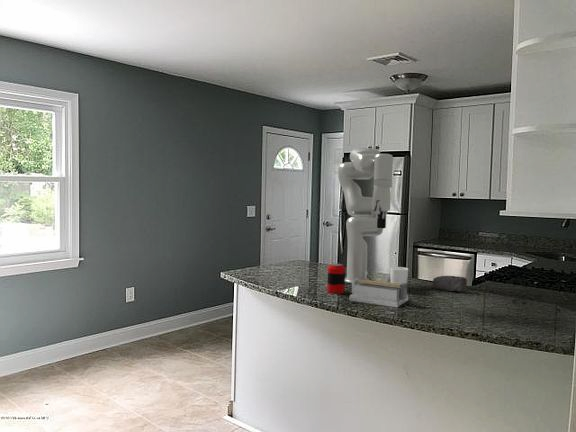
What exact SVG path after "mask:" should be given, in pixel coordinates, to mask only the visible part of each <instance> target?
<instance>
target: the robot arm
mask: <svg viewBox="0 0 576 432" xmlns="http://www.w3.org/2000/svg"><path fill="white" fill-rule="evenodd" d="M349 160H350V161H345V162H343V163H341V164H340V165H338V170H337V177H338V182H339V184H340V187H341V189H342V191H343V195H344V201H345V209H346V212H347V214H348V215H349V216H350V217H349V218H347V219H346V223H345V225H346V226H345V227H346V236H347V237H346V238H347V249H346V250H347V257H346V259H347V260H346V276H345V283H348V284H352V280H353V279H355V278H358V279H362V280H370V278H368V277H367V276H368V274H369V271H368V270H367V269H368V243H367V241H366V240H365V239H364V237H378V236H381V234H382V233H383V232H384V229H386V228H387V225H386V224H387V214H388V211H390V209H391V200H392V199H391V196H392V195H391V188H393V170H394V166H393V165H394V157H393V155H392V154H390V153H381V152H380V150H379V149H378V148H372V147H368V148H367V147H356V148H354V149H352V150H351V152H350V154H349ZM372 178H373V192H372V197H371V196H363V195H362V189H361V187H360V186H359V185H358V183H357V182H355V181H354V180H371V179H372ZM358 284H359V282H358Z"/></svg>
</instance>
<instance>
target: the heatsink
mask: <svg viewBox="0 0 576 432" xmlns="http://www.w3.org/2000/svg"><path fill="white" fill-rule="evenodd" d="M356 280H358V278H355V279H353V280H352V283H351V294H350V295H349V301H352V302H358V303H363V304H364V303H365V304H371V305H377V306H384V307H392V308H399V307H401V306H402V305H403V304H405V303H406V302H408V301H409V295H408V282H407V283H403V284H401V285H400V287H394V286H385V285H376V284H367V283H359V284H358V283H356Z"/></svg>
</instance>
